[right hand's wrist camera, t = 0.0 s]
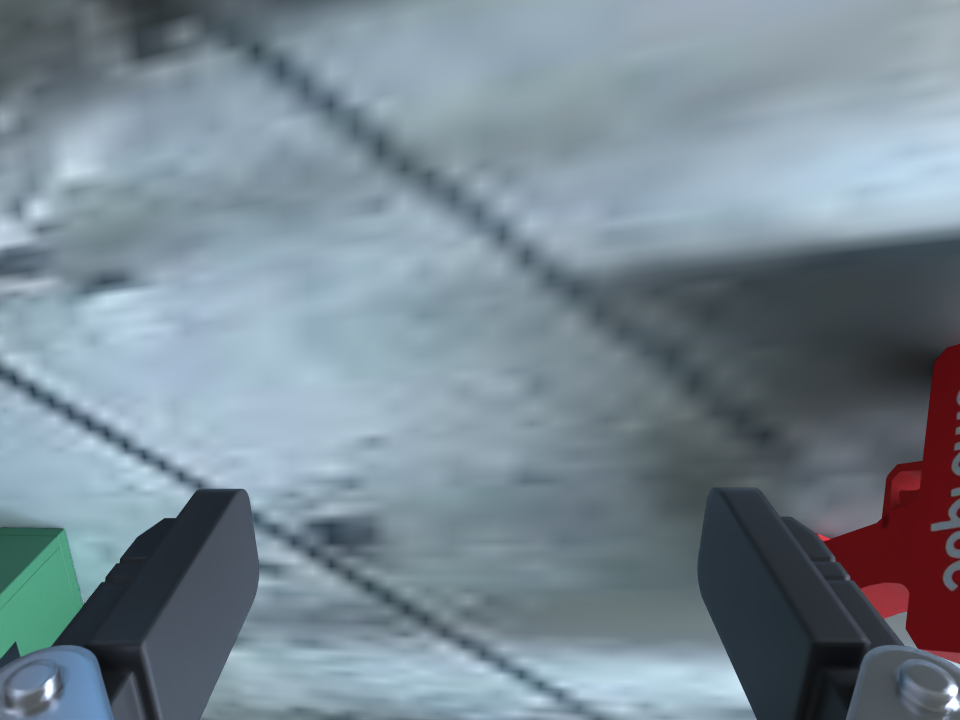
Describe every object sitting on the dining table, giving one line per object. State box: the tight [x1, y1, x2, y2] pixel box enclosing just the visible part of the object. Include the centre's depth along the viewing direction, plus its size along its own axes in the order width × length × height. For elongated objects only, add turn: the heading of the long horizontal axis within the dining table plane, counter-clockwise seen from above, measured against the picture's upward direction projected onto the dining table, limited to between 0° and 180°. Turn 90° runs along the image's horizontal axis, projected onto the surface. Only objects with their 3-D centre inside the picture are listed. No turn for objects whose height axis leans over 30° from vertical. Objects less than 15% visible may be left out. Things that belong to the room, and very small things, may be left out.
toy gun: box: [815, 344, 960, 664], centre depth 41 cm, size 18×4×15 cm
